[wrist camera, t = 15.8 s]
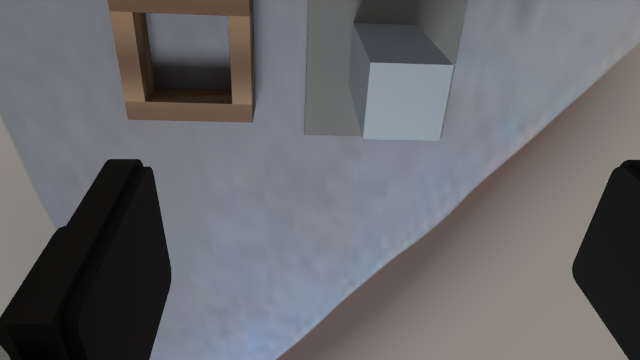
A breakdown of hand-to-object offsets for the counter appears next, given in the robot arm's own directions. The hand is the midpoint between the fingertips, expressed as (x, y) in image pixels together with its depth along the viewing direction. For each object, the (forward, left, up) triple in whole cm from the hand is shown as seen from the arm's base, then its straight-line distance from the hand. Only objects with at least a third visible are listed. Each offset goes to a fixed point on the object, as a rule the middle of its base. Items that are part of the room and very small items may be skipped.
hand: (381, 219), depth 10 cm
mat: (+5, +5, -30) cm, 31 cm away
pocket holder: (+5, -10, -30) cm, 32 cm away
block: (+5, +5, -30) cm, 31 cm away
